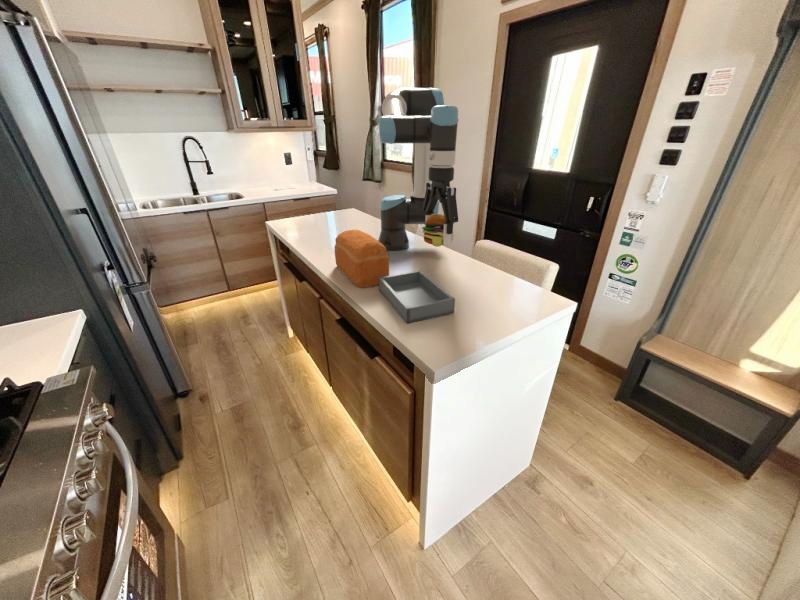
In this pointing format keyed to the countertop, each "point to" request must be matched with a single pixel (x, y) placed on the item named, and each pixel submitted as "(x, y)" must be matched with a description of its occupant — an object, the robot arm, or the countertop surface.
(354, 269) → the bread
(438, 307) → the box
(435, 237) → the cheeseburger
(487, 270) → the countertop surface
